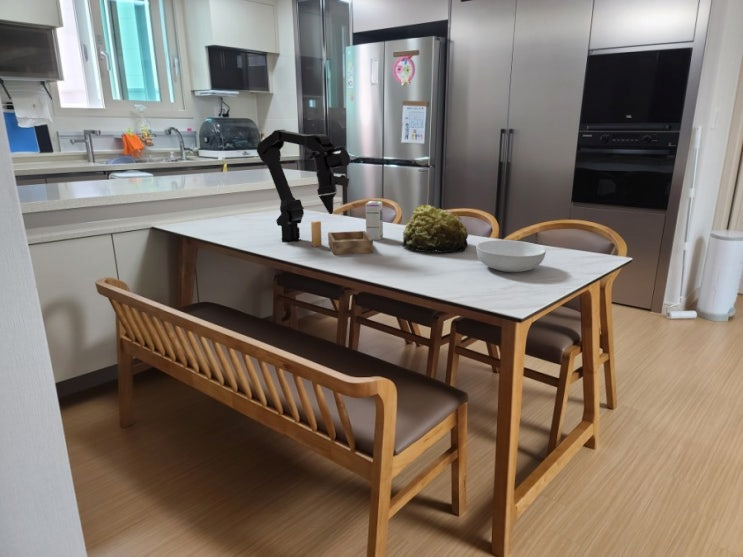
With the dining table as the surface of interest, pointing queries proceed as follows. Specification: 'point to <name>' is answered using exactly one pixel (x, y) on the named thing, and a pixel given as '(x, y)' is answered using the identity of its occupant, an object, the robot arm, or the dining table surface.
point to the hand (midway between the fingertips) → (331, 213)
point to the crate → (350, 242)
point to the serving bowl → (510, 255)
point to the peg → (316, 233)
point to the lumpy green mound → (434, 231)
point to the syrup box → (374, 220)
